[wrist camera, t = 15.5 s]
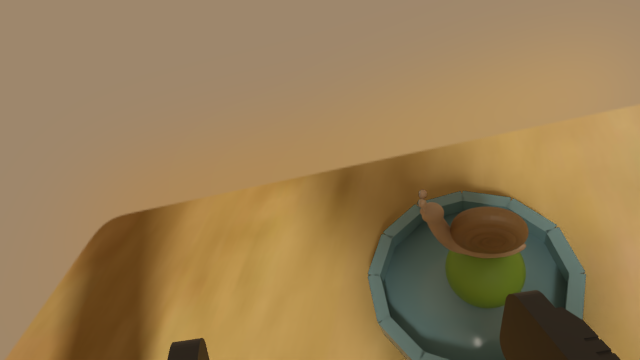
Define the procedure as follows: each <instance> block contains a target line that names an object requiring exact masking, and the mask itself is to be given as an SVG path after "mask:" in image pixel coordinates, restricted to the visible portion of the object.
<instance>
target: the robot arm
mask: <svg viewBox="0 0 640 360" xmlns="http://www.w3.org/2000/svg"><path fill="white" fill-rule="evenodd" d="M500 346H501V350H502V353H503V355H504V357H505V359H506V360H620V359H619V358H618V357H617V355H616V354H615V353H612V352H611V349H610V348H609V347H608V346H607V345H606V344H605V343H604V342H603V341H602V340H599V338H598V336H597V334H596V333H595V332H594V331H593V330H592V329H591V328H590V327H589V326H588V325H587V324H586V323H585V322H584V321H583V320H582V319H580V318H579V317H577V316H576V315H574V314H572V313H571V312H569V311H568V310H566V309H564V308H563V307H558V308H555V307H554V306H553V304H552V303H551V302H550V301H549V300H548V299H547V298H546V297H545V296H544V295H543V294H542V293H541V292H540V291H538V290H533V291H526V292H519V293H513V294H509V295H507V297H506V300H505V305H504V311H503V317H502V323H501V330H500ZM168 360H209V356H208V352H207V348H206V344H205V341H204V339H203V338H200V339H193V340H186V341H179V342H173V343H172V344H171V347H170V351H169V355H168Z"/></svg>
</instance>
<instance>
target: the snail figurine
mask: <svg viewBox="0 0 640 360" xmlns="http://www.w3.org/2000/svg"><path fill="white" fill-rule="evenodd" d="M426 196H427V192H426V190H423V189H422V190H420V191H419V197H420V198H421V199H419V200H418V206H419V207H421V209H420V214H421V215H422V219H423V220H424V221H426V222H427V224H428V226H429V228H430V230H431V232H432V233H433V235H434V236H435V237H436V239H437V240H438V241H439V242H440V243H441V244H442V245H443V246H445V247H446V248H447V249H449V252H448V255H447V258H446V264H445V271H446V277H447V280H448V282H449V285H450V286H451V288H452V290H453V291H454V292H455V293H456V295H457V296H458V297H460V298H461V299H462V300H463V301H465V302H467V303H468V304H470V305H473V306H476V307H480V308H497V307H501V306H504V305H505V300H506V297H507V295H509V294H513V293H519V292H521V290H522V288H523V286H524V283H525V278H526V267H525V263H524V260H523V257H522V255H521V253H520V251H522V250H524V249H525V248H526V244H525V242H526V240H527V238H528V233H529V230H528V226H527V224H526V222H525V221H524V220H523V219H522V218H521V217H520V216H519V215H517V214H516V213H514V212H512V211H510V210H507V209H503V208H499V207H475V208H471V209H468V210H465V211H463V212H461V213H459V214H458V215H457V216H456V217H455V218H454V219H453V221H452V223H451V227H450V226H449V225H448V224H447V222H446V221H445V219H444V217H443V216H444V210H443V208H442V207H441V206H440V205H439V204H437V203H435V202H429V203H427V202H426V200H425V199H423V198H425V197H426Z"/></svg>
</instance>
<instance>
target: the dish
mask: <svg viewBox="0 0 640 360" xmlns="http://www.w3.org/2000/svg"><path fill="white" fill-rule="evenodd" d="M426 202H427V203H429V202H435V203H437V204H439V205H440V206H441V207H442V208H443V210H444V216H443V217H444V219H445V221H446V222H447V224H448V225H449V226H450V227H451V223H452V221H453V219H454V218H455V217H456V216H457V215H458V214H459V213H461V212H463V211H465V210H468V209H471V208H475V207H499V208H503V209H507V210H510V211H512V212H514V213H516V214H517V215H519V216H520V217H521V218H522V219H523V220H524V221H525V222H526V224H527V226H528V230H529V233H528V238H527V240H526V242H525V244H526V248H525V249H524V250H522V251H520V253H521V255H522V257H523V260H524V263H525V267H526V278H525V283H524V286H523V288H522V290H521V292H526V291H533V290H538V291H540V292H541V293H542V294H543V295H544V296H545V297H546V298H547V299H548V300H549V301H550V302H551V303H552V304H553V306H554V307H555V308H558V307H563V308H564V309H566V310H568V311H569V312H571V313H572V314H574V315H576V316H577V317H579V318H580V319H582V320H583V307H584V294H585V280H586V274H584V273H585V270H584V269H583V267H582V265H581V264H580V262H579V260H578V259H577V257H576V255H575V254H574V252H573V250H572V248H571V247H570V245H569V243H568V242H567V240H566V238H565V237H564V235H563V233H562V232H561V230H560V228H559V227H557V225H556V224H554V223H553V222H551V221H549V220H548V219H546V218H545V217H543V216H541V215H540V214H538V213H536V212H535V211H533V210H532V209H530V208H528V207H527V206H525V205H523V204H522V203H520V202H519V201H517V200H515V199H514V198H513V199H512V200H511V197H504V196H497V195H490V194H482V193H475V192H468V191H463V193H461V191H459V192H455V193H451V194H448V195H444V196H441V197H437V198H433V199H430V200H426ZM417 205H418V203H417ZM417 205H413V206H412V207H411V208H410V209H409V210H408V211H407V212H405V213H404V214H403V215H402V216H401V217H400V218H399V219H397V220H396V221H395V222H394V223H393V224H392V225H391V226H389V227H388V228H387V229H386V230H385V231H384V232H383V233H384V234H382V235H381V238H380V240H379V243H378V246H377V249H376V252H375V255H374V258H373V260H372V263H371V266H370V269H369V272H368V275H369V276H368V280H369V285H370V289H371V294H372V299H373V303H374V308H375V312H376V317H377V321H378V323H379V325H380V327H381V329H382V331H383V333H384V335H385V336H386V337H387V338H388V339H389V340H390V341H391V342H392V343H393V345H394V346H395V347H396V348H397V349H398V350H399V351H400V352H401V353H402V354H403V355H404V357H405V358H406V359H407V360H506V359H505V357H504V355H503V353H502V350H501V346H500V330H501V323H502V317H503V311H504V306H501V307H497V308H480V307H476V306H473V305H470V304H468V303H467V302H465V301H463V300H462V299H461V298H460V297H458V296H457V295H456V293H455V292H454V291H453V290H452V288H451V286H450V285H449V282H448V280H447V277H446V271H445V264H446V258H447V255H448V252H449V249H447V248H446V247H445V246H443V245H442V244H441V243H440V242H439V241H438V240H437V239H436V237H435V236H434V235H433V233H432V232H431V230H430V228H429V226H428V224H427V222H426V221H424V220H423V219H422V215H421V214H420V209H421V207H419V206H417ZM556 227H557V228H556Z"/></svg>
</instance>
